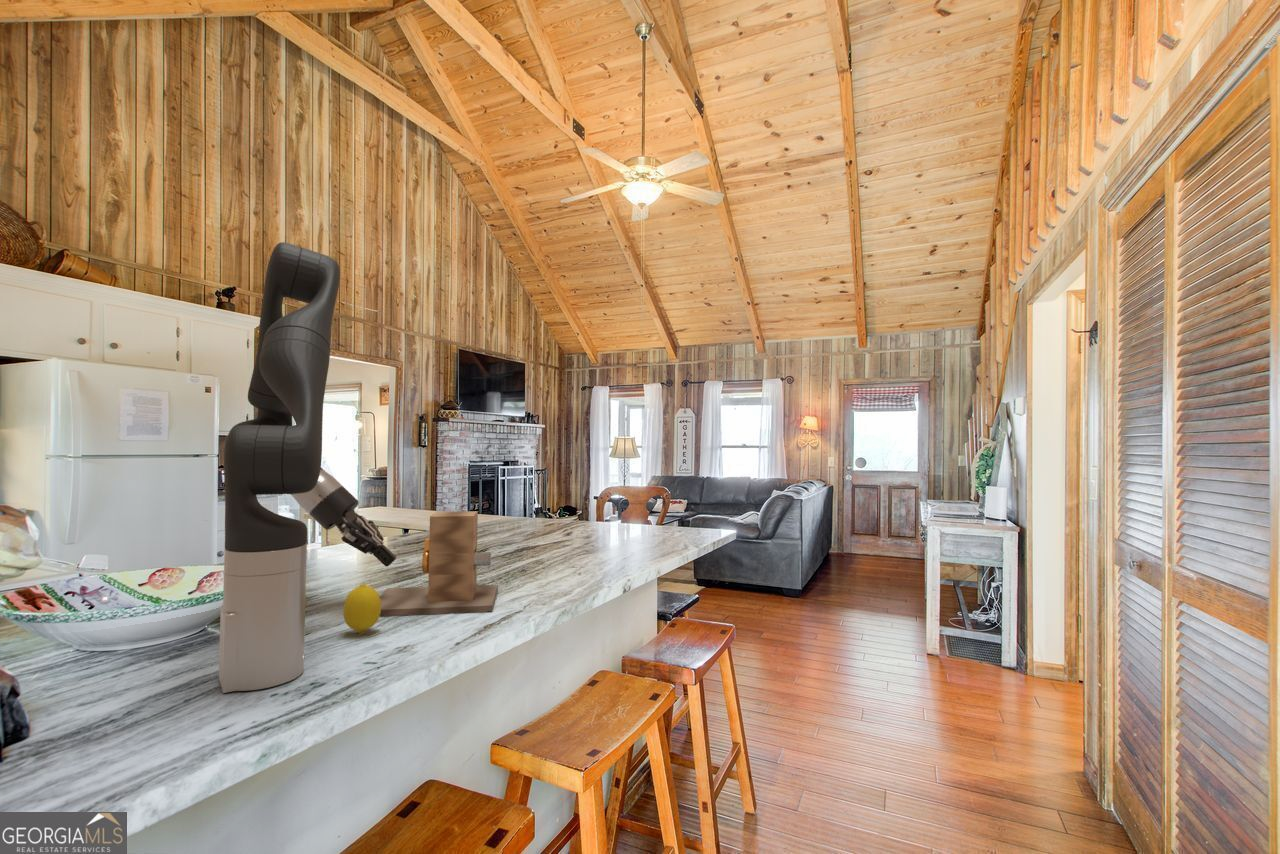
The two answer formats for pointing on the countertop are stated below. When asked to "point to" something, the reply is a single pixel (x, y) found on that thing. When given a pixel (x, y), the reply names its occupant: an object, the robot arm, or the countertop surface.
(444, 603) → the hitch post
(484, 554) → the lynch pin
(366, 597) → the lemon
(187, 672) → the countertop surface
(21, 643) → the countertop surface
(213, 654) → the countertop surface
